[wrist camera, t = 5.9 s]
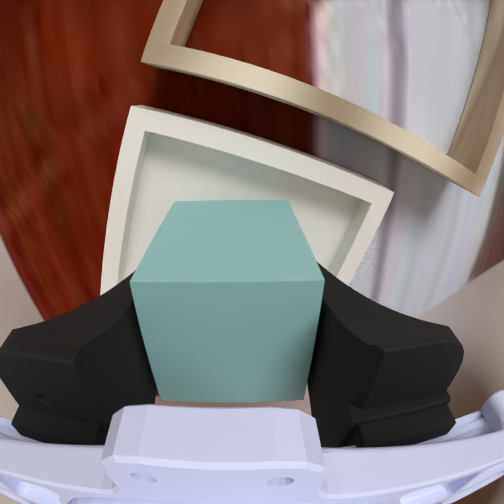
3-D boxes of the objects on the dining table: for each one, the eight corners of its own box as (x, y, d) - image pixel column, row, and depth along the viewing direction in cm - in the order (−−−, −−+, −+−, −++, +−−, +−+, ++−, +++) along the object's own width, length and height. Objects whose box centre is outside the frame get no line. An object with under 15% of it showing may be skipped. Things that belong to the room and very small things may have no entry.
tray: (380, 183, 14) (394, 192, 12) (298, 344, 18) (303, 363, 16) (142, 104, 12) (130, 106, 10) (108, 297, 16) (99, 314, 14)
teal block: (287, 200, 13) (324, 279, 7) (281, 294, 15) (303, 399, 9) (174, 201, 12) (129, 281, 7) (183, 295, 14) (161, 400, 9)
